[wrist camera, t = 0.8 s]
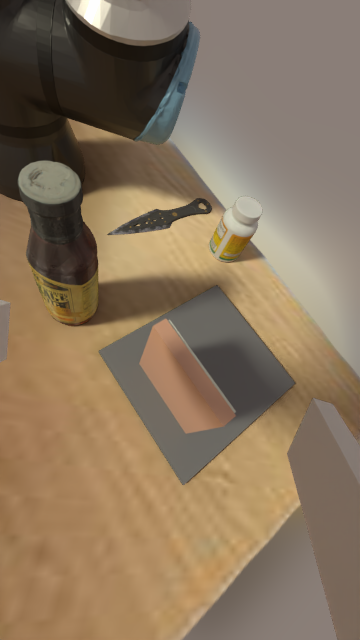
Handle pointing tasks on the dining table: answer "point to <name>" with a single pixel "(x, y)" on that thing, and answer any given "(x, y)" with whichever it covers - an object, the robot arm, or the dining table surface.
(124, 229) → the throwing knife
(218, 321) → the rubber mat
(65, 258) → the sauce bottle
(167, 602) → the dining table surface
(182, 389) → the terracotta tile
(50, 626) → the dining table surface
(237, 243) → the supplement bottle
